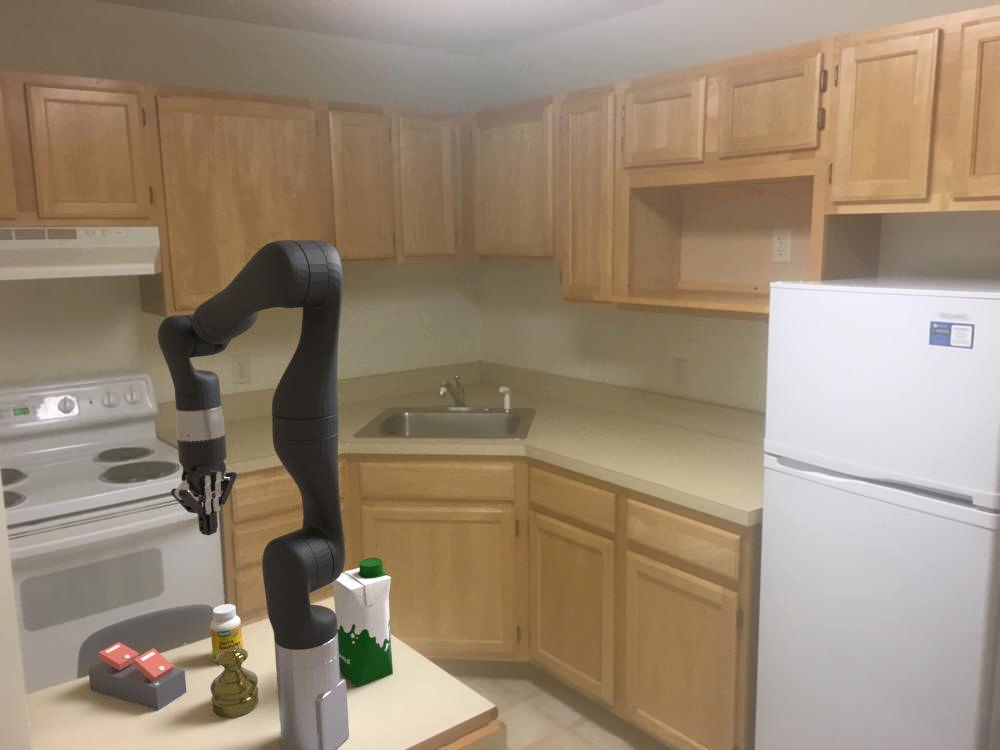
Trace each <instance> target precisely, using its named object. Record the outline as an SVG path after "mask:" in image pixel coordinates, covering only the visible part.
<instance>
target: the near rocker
mask: <svg viewBox="0 0 1000 750" xmlns="http://www.w3.org/2000/svg"><path fill="white" fill-rule="evenodd" d="M133 665H134V666H135V667H136V668H137V669H138V670H139V671H140V672H141V673H142V675H144V676H146V677H147V678H148V679H149V680H150V681H151V682H155V681H156V680H158V679H159V678H161V677H163V676H164V675H166V674H168V673H169V672H171V671H172V669H173V667H175V666H174V665H173V664H172V663H171V662H170V661H169V660H168V659H167V658H165V656H163V655H162V654H161V653H159V651H157V650H156V649H155V648H154V647H153V648H151V649H150V650H148V651H145V652H144V653H142V654H141V655H139V657H137V658H135V659H134V661H133Z"/></svg>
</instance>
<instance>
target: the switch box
mask: <svg viewBox="0 0 1000 750" xmlns="http://www.w3.org/2000/svg"><path fill="white" fill-rule="evenodd" d="M87 670H88V678H89V686H90V687H89V689H90V691H92V692H95V693H99V694H102V695H105V696H109V697H111V696H112V698H115V697H116V698H115V699H118V698H120V699H119V700H121V699H123V700H122V701H125V700H126V701H125V702H128V701H129V703H131V704H136V705H138V704H139V705H138V706H142V707H145V706H146V708H148V707H149V709H153V710H156V711H160V710H162V708H163V709H164V707H166V706H168V705H170V703H173V701H176V700H177V699H179V697H181V696H183V695H184V694H185V693H187V691H188V690H187V682H186V671H185V669H182V668H177V667H175V666H174V667H173V669H172V671H171V672H169V673H168V674H166V675H164V676H163V677H161V678H159V679H158V680H156V681H155V682H151V681H150V680H149V679H148V678H147V677H146V676H144V675H142V673H141V672H140V671H139V670H138V669H137V668H136V667H135V666H134V665H133V663H132V664H130V665H128V666H126V667H125V668H123V669H121V670H118V669H116V668H114V667H110V666H109V664H107V663H106V662H104V661H102V660H101V661H100V662H98V663H97V664H94V665H93V666H91V667H89V668H88V669H87Z"/></svg>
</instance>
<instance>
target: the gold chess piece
mask: <svg viewBox="0 0 1000 750" xmlns="http://www.w3.org/2000/svg"><path fill="white" fill-rule="evenodd" d="M248 652H249V651H248V650H246V649H245V648H244V647H243V648H237V647H230V648H228V649H226V650H224V651H222V652H221V653H219V654H218V655H217V657H216V662H215V663H217V664H218V665H219V666H221V667H223V670H222V672H220V673H219V675H218V676H216V677H215V678H214V679H213V680H212V682H211V684H210V692H211V699H210V700H211V705H212V706H211V707H212V712H213V713H214V715H216V716H217V717H220V718H235V717H236V718H237V717H240V716H243V715H246V714H248V713H250V712H251V711H253V710H254V709H255V708H257V706H258V704H259V703H260V702H259V700H260V699H259V696H260V695H259V690H260V689H259V687H258V676H257V674H256V673H255V672H254V671H252V670H249V669H247V668H246V667H244V666H243V663H244V662H245V661H246V660H247V658H248V656H249V653H248Z"/></svg>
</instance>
